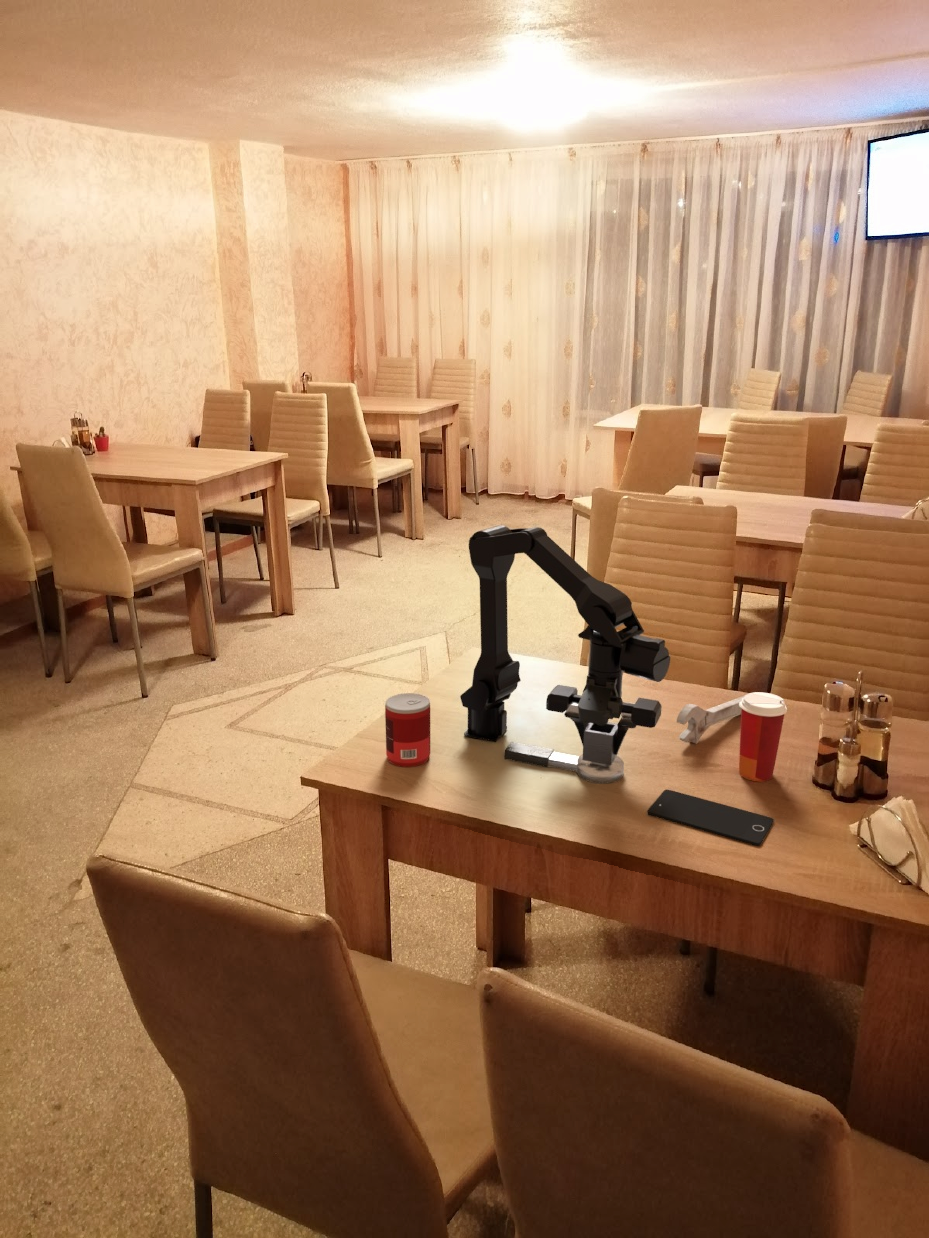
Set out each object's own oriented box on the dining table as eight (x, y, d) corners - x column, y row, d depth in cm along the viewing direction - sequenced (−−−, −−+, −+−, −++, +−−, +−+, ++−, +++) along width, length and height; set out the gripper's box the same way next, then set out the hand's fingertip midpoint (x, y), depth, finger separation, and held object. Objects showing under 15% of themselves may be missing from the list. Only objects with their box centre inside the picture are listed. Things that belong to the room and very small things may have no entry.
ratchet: (500, 764, 167) (500, 738, 165) (515, 745, 174) (515, 720, 172) (616, 786, 159) (618, 760, 157) (627, 766, 166) (629, 740, 164)
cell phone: (759, 849, 142) (759, 843, 142) (645, 816, 151) (646, 810, 150) (774, 823, 149) (774, 818, 149) (665, 793, 158) (665, 788, 158)
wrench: (757, 720, 192) (680, 751, 171) (749, 717, 193) (671, 748, 172) (764, 682, 190) (686, 709, 169) (755, 680, 191) (677, 706, 170)
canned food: (439, 757, 169) (439, 700, 166) (407, 772, 164) (406, 714, 160) (409, 744, 174) (409, 688, 171) (377, 758, 169) (376, 701, 165)
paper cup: (779, 767, 166) (788, 694, 162) (778, 787, 159) (787, 711, 155) (733, 760, 168) (741, 688, 164) (730, 780, 162) (738, 705, 157)
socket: (582, 759, 162) (583, 730, 160) (590, 747, 166) (591, 719, 164) (611, 765, 160) (612, 735, 158) (618, 753, 164) (619, 724, 163)
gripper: (537, 675, 154) (534, 761, 159) (651, 692, 147) (644, 782, 152) (557, 652, 164) (554, 734, 169) (665, 668, 157) (658, 753, 162)
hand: (600, 750), depth 163 cm, fingers closed on socket, 5 cm apart
